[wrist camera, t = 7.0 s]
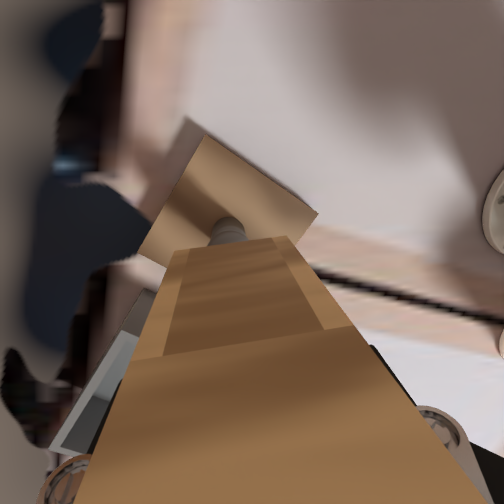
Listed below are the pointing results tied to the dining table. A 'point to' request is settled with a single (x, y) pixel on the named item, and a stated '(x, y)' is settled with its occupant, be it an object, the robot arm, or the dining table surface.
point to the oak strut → (262, 398)
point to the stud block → (223, 206)
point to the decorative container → (501, 344)
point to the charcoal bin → (102, 383)
